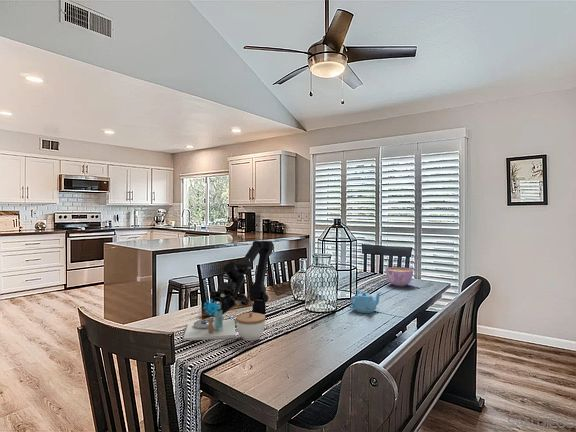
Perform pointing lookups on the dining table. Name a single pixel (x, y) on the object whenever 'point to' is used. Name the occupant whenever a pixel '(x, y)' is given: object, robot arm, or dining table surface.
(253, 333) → the lidded bowl
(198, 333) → the clock board
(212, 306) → the gear
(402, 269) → the bowl of food
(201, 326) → the flange plate
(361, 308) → the teapot
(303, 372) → the dining table surface
